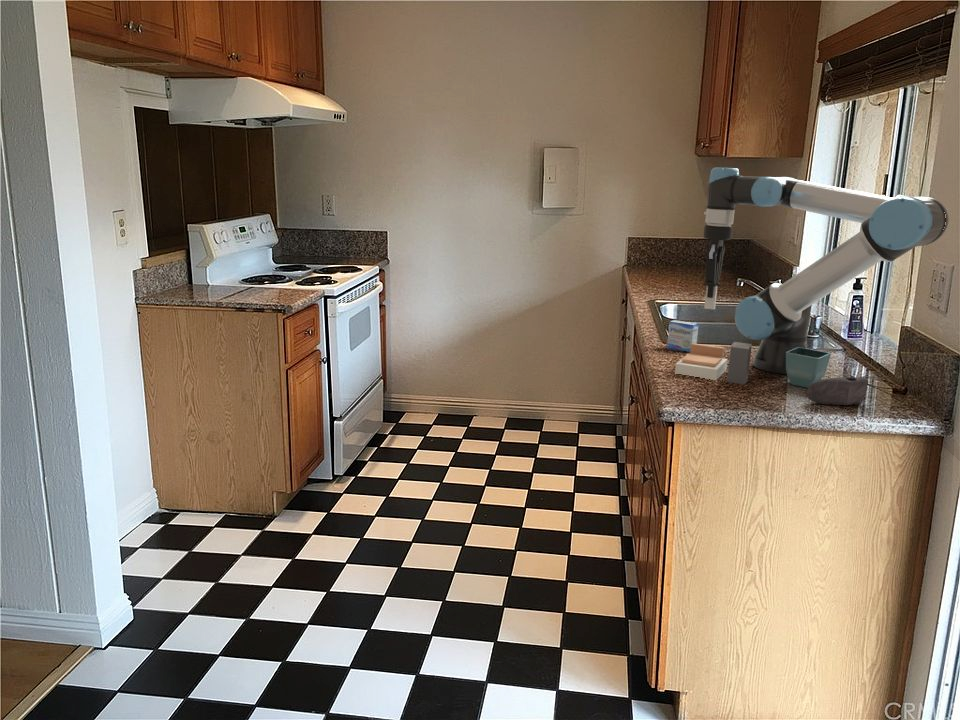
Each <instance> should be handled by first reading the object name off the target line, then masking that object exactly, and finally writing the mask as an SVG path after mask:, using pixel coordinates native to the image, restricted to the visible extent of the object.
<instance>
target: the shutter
mask: <svg viewBox="0 0 960 720" xmlns="http://www.w3.org/2000/svg"><path fill="white" fill-rule="evenodd" d="M725 349H726V348H725V347H724V346H717V345H709V344H701V343H697V344H695V343H692V344H691V348H690V352H688V353H687V354H688V355H687V354H686V355H687V356H686V355H685V356H683V357H682V358H683V359H682V358H681V359H682V362H686V363H692V364H699V365H706V366H713V367H716V366H717V365H718V364H719V363H720V362H721V361H722V358H723V357H724V356H725Z"/></svg>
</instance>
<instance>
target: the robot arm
mask: <svg viewBox="0 0 960 720" xmlns="http://www.w3.org/2000/svg"><path fill="white" fill-rule="evenodd" d="M707 184H708V192H707V200H706V201H707V203H706V211H704V212H703V214H704V215H705V221H704V222H705V223H706V224H705V225H704V227H703V238H704V239H707V240H710V241H709V245H708V246H707V250H706V252H705V254H706V256H705V257H706V266H705V280H704V281H705V282H704V283H703V286H705V287H706V288H705V289H706V290H705V297H704V298H705V299H704V306H703V307H704V308H703V309H705V310H707V309H708V310H715V309H716V304H717V303H716V301H717V296H718V295H717V293H718V287H720V286H721V285H722V284H721V283H720V281H721V274H722V268H723V260H724V255H725V252H726V249H725V248H726V246H725V245H724V241H730V240H731V239H732V237H733V226H732V225H734V220H735V219H734V218H735V212H736V209H735V208H736V205H742V206H743V205H747V206H754V207H755V206H756V207H761V208H763V207H766V208H767V207H774V206H780V207H784V208H789V209H795V210H801V211H805V212H809V213H815V214H818V215H819V214H820V215H822V216H826V217H827V216H828V217H832V218H837V219H842V220H845V221H849V222H850V221H851V222H854V223H858V224H860V226H859V227H860V228H859V232H858V233H855V234H854V235H853V236H851V237H850V238H848V239H847V240H845V241H844V242H842V243H841V244H840V245H838V246H836V247H835V248H833V249H832V250H831V251H829V252H828V253H826V254H825V255H824V256H822V257H821V258H819V259H818V260H817V259H816V261H815V262H813V263H811V264H810V265H808V266H807V267H806V268H804V269H803V270H801V271H800V272H798V273H797V274H796V275H794V276H792V277H791V278H789V279H788V280H786V281H785V282H783V283H779V282H774V283H772V284H770V285H769V286H768V287H766V288H764V289H763V290H761V291H760V292H759V293H757V294H755V295H750V296H747V297H745V298H744V299H741V301H740V302H738V304H737V306H736V308H735V314H734V322H735V325H736V328H737V330H738V331H739V332H740V333H741V334H742V335H743V336H744V337H745V338H747V339H750V340H753V341H761V342H760V344H759V346H758V348H757V350H756V353H755V354H754V357H753V360H752V361H753V363H752V365H753V367H755V368H757V369H759V370H762V371H764V372H765V371H766V372H768V373H776V374H781V375H782V374H783V375H787V373H786V352H787V351H790V350H792V349H795V348H797V347H801V348H807V349H808V346H807V340H808V335H809V327H810V326H809V325H810V320H811V319H810V318H811V311H812V306H813V305H814V304H816V303H817V302H818V301H820V300H822V299H823V298H825V297H826V296H828V295H830V294H831V293H833V292H834V291H836V290H837V289H838V288H841V287H842V286H844V285H846V284H847V283H848V282H850V281H852V280H853V279H855V278H856V277H858V276H860V275H861V274H863V273H865V271H867V270H869V269H870V268H872V267H873V266H875V265H876V264H878V263H880V262H889V263H891V262H893V261H895V260H897V259H899V258H900V257H902V256H903V255H904V254H905V255H906V253H908V252H909V251H911V250H913V249H915V248H916V247H922V246H923V247H924V246H928V245H930V244H933V243H935V242H937V241H938V240H939V239H940V238H942V236H943V235H944V234H945V232H946V230H947V228H948V225H949V220H950V219H949V214H948V210H947V208H946V207H945V206H944V204H943V203H942V202H940V201H939V200H938V199H935V198H933V197H929V196H909V195H908V196H907V195H902V194H898V195H896V196H895V197H889V196H885V195H879V194H874V193H869V192H865V191H858V190H855V189H854V190H852V189H848V188H842V187H837V186H831V185H827V184H821V183H816V182H811V181H804V180H800V179H795V178H794V177H789V176H776V177H775V176H752V175H751V176H747V175H744V176H743V175H740V171H739V168H736V167H735V168H734V167H713V168H712V169H711V170H710V174H709V180H708V183H707ZM944 212H945V213H944ZM945 214H946V218H945ZM945 222H946V225H945ZM944 227H945V228H944ZM943 229H944V230H943Z"/></svg>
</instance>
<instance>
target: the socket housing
mask: <svg viewBox="0 0 960 720" xmlns="http://www.w3.org/2000/svg"><path fill="white" fill-rule="evenodd" d="M688 354H689V353H687V354H686V355H685V356H687V355H688ZM683 358H684V357H682V358H681V359H680V360H678V361H677V362H676V363H675V369H674V375H676V374H682V375H689V376H694V377H693V378H695V377H700V378H699V379H702V378H705V379H704V380H709V379H710V381H717V380H718V379H719V378H720V377H721V376H722V375H723V374H724V373H725V372H726V371H727V367H728V362H729V360H728V358H722V361H721V362H720V363H719V364H718V365H717V366H716V367H713V366H706V365H699V364H692V363H686V362H682V359H683ZM682 375H681V376H682ZM689 376H688V377H689Z"/></svg>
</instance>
